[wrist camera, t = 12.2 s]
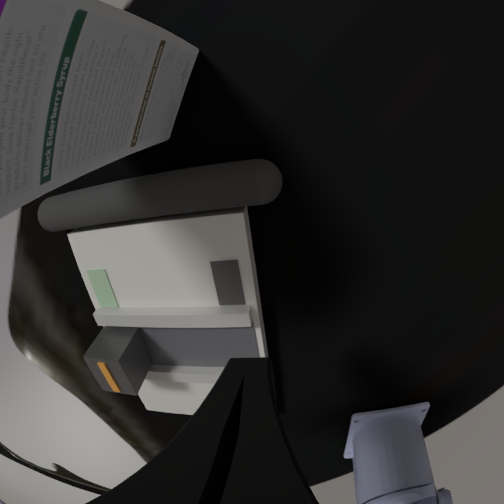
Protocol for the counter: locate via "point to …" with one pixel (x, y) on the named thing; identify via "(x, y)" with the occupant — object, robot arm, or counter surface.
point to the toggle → (119, 359)
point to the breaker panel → (177, 296)
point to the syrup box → (81, 91)
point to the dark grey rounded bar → (164, 194)
